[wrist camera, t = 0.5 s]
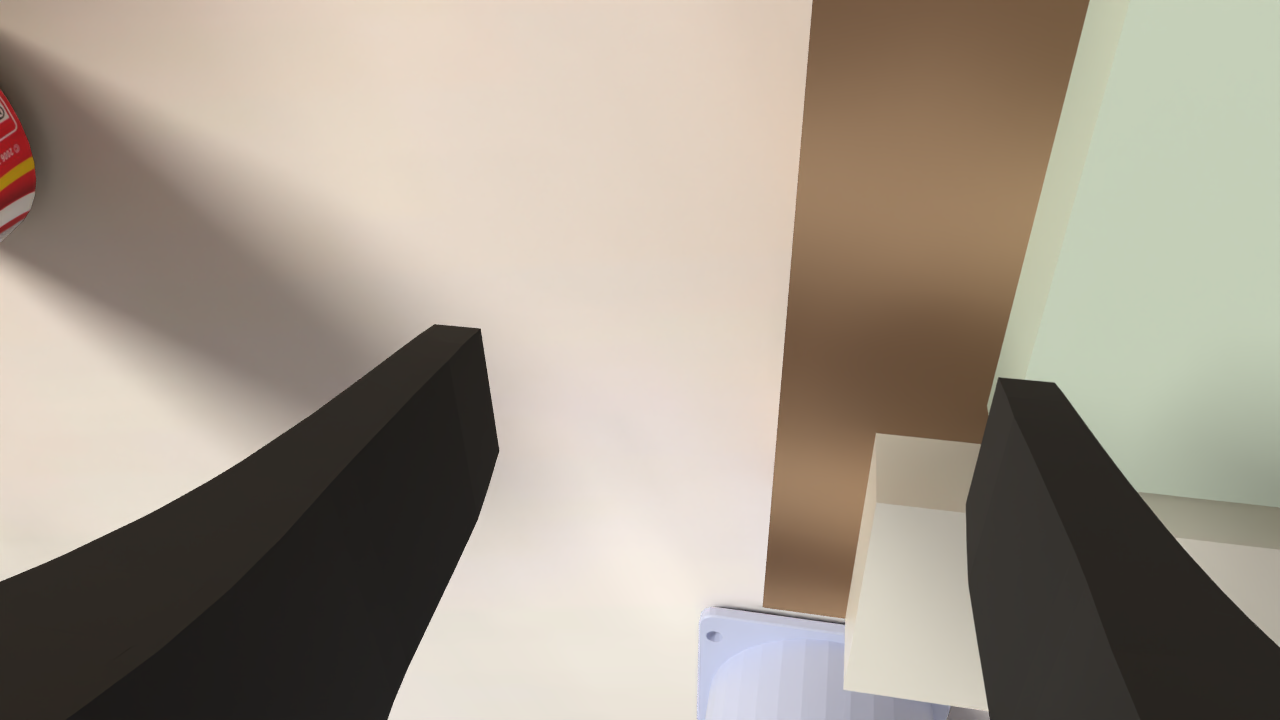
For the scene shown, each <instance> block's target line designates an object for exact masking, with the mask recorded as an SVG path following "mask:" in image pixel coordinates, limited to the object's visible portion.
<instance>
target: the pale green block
mask: <svg viewBox="0 0 1280 720" xmlns="http://www.w3.org/2000/svg"><path fill="white" fill-rule="evenodd" d="M998 377H1001V378H1012V379H1023V380H1033V381H1044V382H1055V383H1056V385H1057V386H1058V387H1059V388H1060V390H1061V391H1062V392H1063V393H1064V395H1065V396H1066V397H1067V399H1068V400H1069V402H1070V403H1071V404H1072V406H1073V407H1074V408H1075V410H1076V411H1077V413H1078V414H1079V415H1080V417H1081V418H1082V419H1083V421H1084V422H1085V424H1086V425H1087V426H1088V428H1089V429H1090V430H1091V432H1092V433H1093V435H1094V436H1095V437H1096V439H1097V440H1098V441H1099V443H1100V444H1101V445H1102V447H1103V448H1104V449H1105V451H1106V452H1107V453H1108V455H1109V456H1110V457H1111V459H1112V460H1113V461H1114V463H1115V464H1116V465H1117V467H1118V468H1119V469H1120V471H1121V472H1122V473H1123V475H1124V476H1125V477H1126V478H1127V480H1128V481H1129V482H1130V484H1131V485H1132V486H1133V487H1134V489H1135V490H1136V491H1137V492H1143V493H1152V494H1161V495H1170V496H1179V497H1189V498H1198V499H1207V500H1216V501H1225V502H1234V503H1243V504H1252V505H1261V506H1270V507H1279V508H1280V0H1090V1H1089V5H1088V9H1087V13H1086V17H1085V21H1084V25H1083V29H1082V33H1081V37H1080V41H1079V45H1078V49H1077V53H1076V57H1075V60H1074V64H1073V68H1072V72H1071V76H1070V80H1069V84H1068V88H1067V92H1066V96H1065V100H1064V104H1063V108H1062V112H1061V116H1060V120H1059V124H1058V128H1057V132H1056V135H1055V139H1054V143H1053V147H1052V151H1051V155H1050V159H1049V163H1048V167H1047V171H1046V175H1045V179H1044V183H1043V187H1042V191H1041V195H1040V199H1039V203H1038V207H1037V211H1036V214H1035V218H1034V222H1033V226H1032V230H1031V234H1030V238H1029V242H1028V246H1027V250H1026V254H1025V258H1024V262H1023V266H1022V270H1021V274H1020V278H1019V282H1018V286H1017V289H1016V293H1015V297H1014V301H1013V305H1012V309H1011V313H1010V317H1009V321H1008V325H1007V329H1006V333H1005V337H1004V341H1003V345H1002V349H1001V353H1000V357H999V361H998V364H997V368H996V372H995V376H994V380H993V384H992V388H991V392H990V396H989V400H988V404H987V409H988V415H989V412H990V408H991V404H992V400H993V396H994V392H995V388H996V384H997V380H998Z"/></svg>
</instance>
